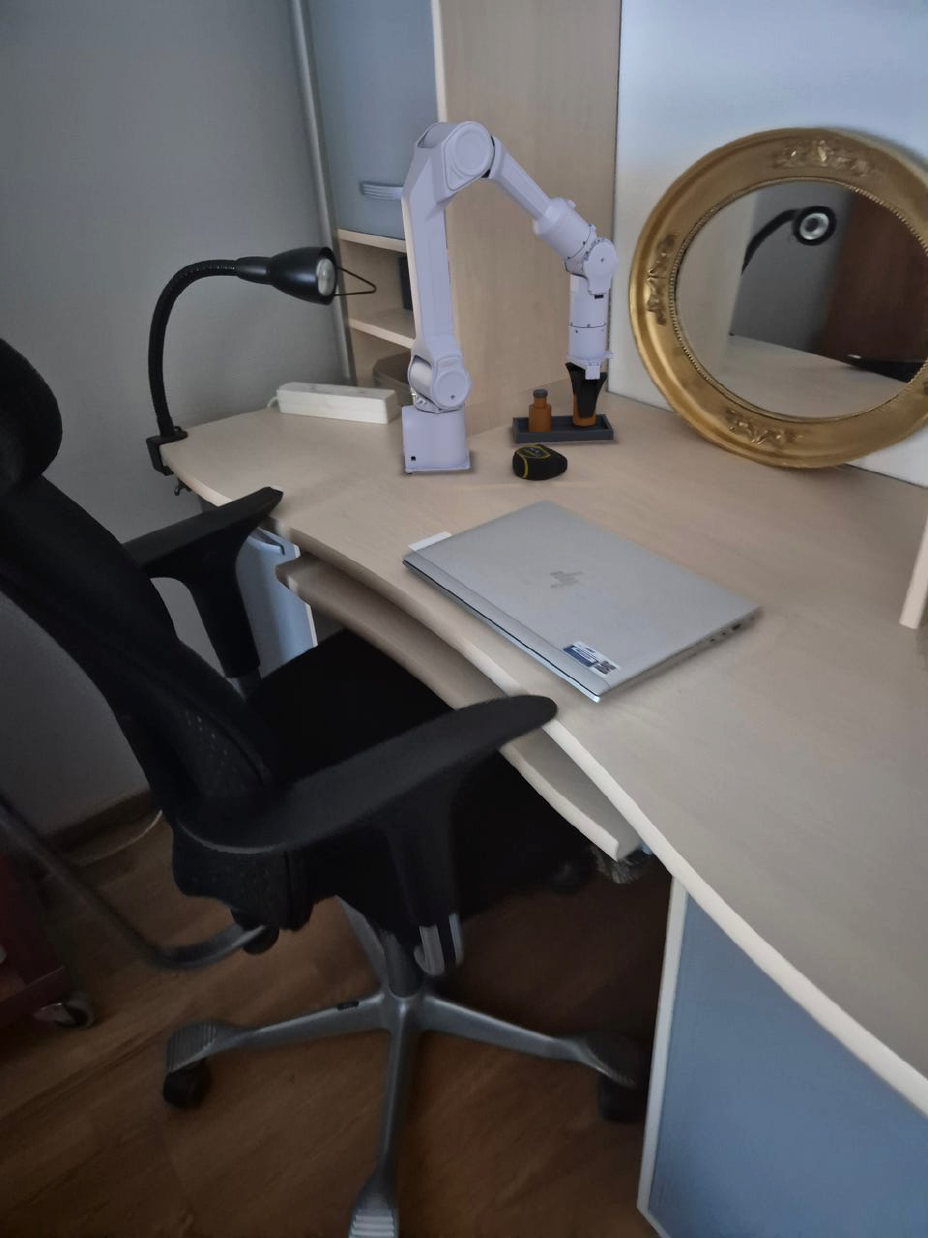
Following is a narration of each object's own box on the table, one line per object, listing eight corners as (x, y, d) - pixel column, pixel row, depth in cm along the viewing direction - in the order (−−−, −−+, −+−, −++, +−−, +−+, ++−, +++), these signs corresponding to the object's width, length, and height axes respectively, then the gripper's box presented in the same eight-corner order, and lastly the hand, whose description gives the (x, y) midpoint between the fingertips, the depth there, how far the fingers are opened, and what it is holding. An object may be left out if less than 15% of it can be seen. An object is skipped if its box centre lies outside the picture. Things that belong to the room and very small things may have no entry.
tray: (515, 446, 127) (515, 434, 126) (512, 429, 134) (512, 417, 133) (612, 442, 127) (613, 430, 126) (604, 425, 134) (605, 413, 133)
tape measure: (569, 478, 115) (570, 453, 113) (528, 488, 112) (528, 463, 111) (543, 463, 120) (543, 439, 118) (503, 473, 118) (503, 448, 116)
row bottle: (529, 437, 129) (529, 394, 125) (527, 430, 132) (527, 387, 128) (552, 436, 129) (553, 393, 125) (549, 429, 132) (550, 387, 128)
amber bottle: (574, 426, 128) (575, 382, 124) (571, 419, 131) (572, 376, 127) (596, 425, 128) (599, 381, 124) (593, 418, 131) (595, 375, 127)
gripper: (623, 333, 115) (617, 426, 122) (606, 312, 127) (602, 397, 135) (573, 335, 115) (570, 428, 122) (561, 314, 127) (559, 399, 135)
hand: (584, 412), depth 128 cm, fingers closed on amber bottle, 3 cm apart
